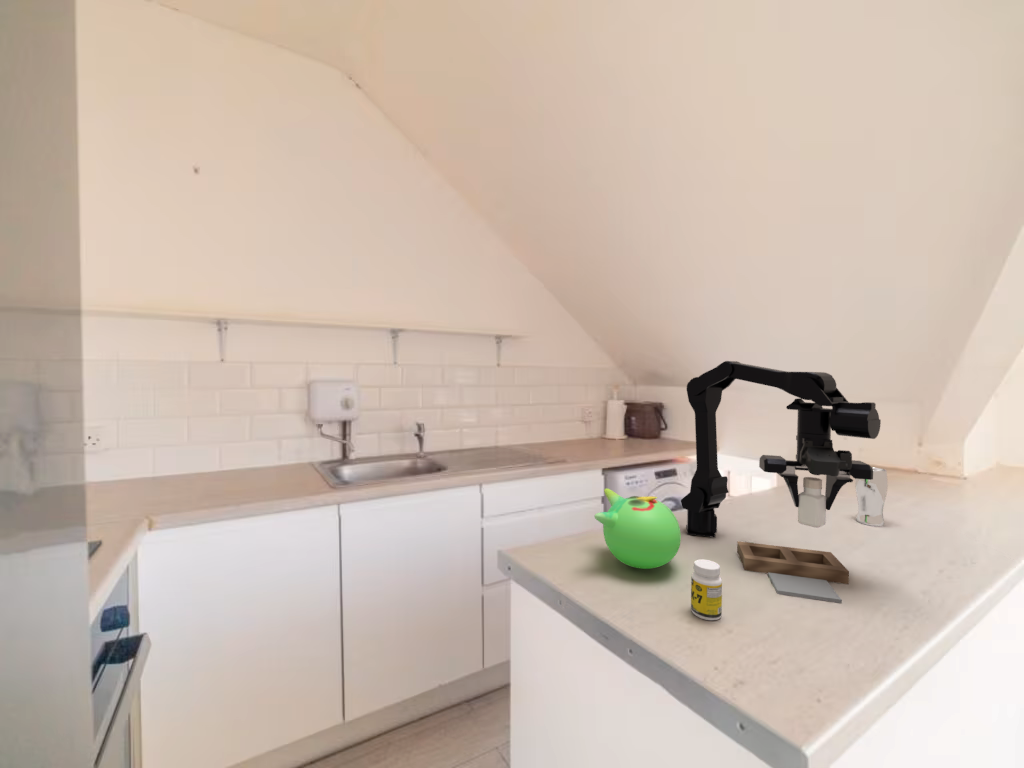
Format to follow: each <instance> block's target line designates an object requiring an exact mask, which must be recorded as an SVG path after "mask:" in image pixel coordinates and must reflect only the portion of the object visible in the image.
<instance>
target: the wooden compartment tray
mask: <svg viewBox="0 0 1024 768" xmlns="http://www.w3.org/2000/svg"><path fill="white" fill-rule="evenodd" d="M736 543H737V549H736V553H737V555H738V557H739V561H740V562H741V565H742V567H743V570H744V571H747V572H748V571H749V572H756V573H761V574H762V573H763V574H768V572H769V573H777V574H784V575H791V576H799V577H806V578H813V579H821V580H827V582H828V583H837V584H843V585H849V584H850V571H849V570H848V568H847V567H846V566H845V565H844V564H843V563H842V562H841V561H840V560H839V559H838V558H837V557H836V556H835V555H834V554H833V553H832V552H831V551H823V550H814V549H805V548H797V547H791V546H790V547H789V546H788V547H787V546H780V545H773V544H763V543H756V542H755V543H754V542H746V541H739V540H738V541H737V542H736Z"/></svg>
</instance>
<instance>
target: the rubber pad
mask: <svg viewBox="0 0 1024 768" xmlns="http://www.w3.org/2000/svg"><path fill="white" fill-rule="evenodd" d="M767 577H768V578H769V581H770V582H771V584H772V586H773V588H774V590H775V592H776V593H777V595H778V594H779V595H783V596H789V597H790V596H791V597H797V598H804V599H811V600H819V601H825V602H830V603H831V602H832V603H839V604H842V603H843V599H842V598H841V596H839V594H838V593H837V592H836V591H835V589H834V588H833V587H832V586H831V584H830V582H828V581H827V580H821V579H813V578H806V577H799V576H791V575H784V574H777V573H769V572H768V573H767Z"/></svg>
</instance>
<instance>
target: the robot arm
mask: <svg viewBox="0 0 1024 768" xmlns="http://www.w3.org/2000/svg"><path fill="white" fill-rule="evenodd" d="M735 380H740V381H745V382H750V383H755V384H759V385H762V386H768V387H773V388H776V389H779V390H782V391H783V392H786V393H787V394H789V395H792V396H793V397H796V398H795V399H794V400H793V401H792V402H791V403H789V404H788V405H786V409H787V410H791V411H792V410H793V411H797V422H796V423H797V425H796V426H797V428H796V430H797V431H796V435H795V436H796V438H795V440H796V454H795V460H787V459H785V458H784V457H783V456H781V455H772V454H771V455H769V454H762V455H761V456H760V457H759V462H758V463H759V464H758V465H759V466H758V467H759V468H760V469H761V471H763V472H765V473H770V474H771V473H773V474H778V476H780V477H781V478H783V480H784V481H785V483H786V486H787V488H788V491H789V493H790V496H791V499H792V502H793V504H794V506H795V508H798V506H799V496H798V495H799V486H798V484H799V483H798V481H799V476H798V475H797V474H796V471H808V472H809V473H810V474H811V475H814V476H821V475H822V476H823V475H824V476H825V477H826V478H825V490H824V491H825V493H824V496H826V511H830V510H831V508H832V506H833V504H834V502H835V500H836V499H837V498H836V497H837V495H838V494H839V492H840V490H841V489H842V488H843V487H844V486H845V485H846V484H847V483H853V481H854V480H855V479H868V480H872V479H873V469H872V467H873V466H871V465H870V464H868V463H866V462H864V461H861V460H853V453H852V451H850V450H841V449H839V450H834V447H833V445H834V444H833V439H831V437H832V436H831V432H833V431H834V432H835V433H836V435H837V436H842V437H851V438H862V439H872V440H875V439H876V438H877V437H878V435H879V433H880V430H881V425H882V424H881V419H880V416H879V411H878V410H877V409H876V403H875V402H870V401H869V402H865V401H864V402H850V401H848V399H847V398H846V397H845V396H844V395H843V393H842V392H841V391H840V390H839V389H838V388H837V383H836V382H837V381H836V379H835V378H834V377H833V375H832V374H830V373H827V372H824V371H823V372H822V371H786V370H780V369H775V368H768V367H765V366H764V367H763V366H758V365H752V364H746V363H742V362H739V361H736V360H735V361H734V360H730V361H729V360H725V361H723V362H722V363H720V364H718V365H717V366H715V367H713V368H711V369H710V370H708V371H706V372H704V373H702V374H701V375H699V376H695V377H693V378H691V379H690V380H689V382H687V384H686V393H687V394H686V395H687V400H688V403H689V405H690V406H691V409H692V410H693V411H694V424H695V425H694V426H695V429H694V430H695V456H696V457H695V458H696V460H695V461H696V469H695V472H694V474H693V476H692V477H691V478H692V479H691V482H690V490H689V492H688V493H687V494H686V495H685V496H683V497H682V498H681V499H680V502H681V503H680V504H681V507H682V509H683V510H687V511H686V514H687V515H686V525H685V526H686V527H685V528H686V533H687V535H690V536H691V535H692V536H699V537H709V538H716V534H717V532H718V530H717V529H718V516H717V514H716V512H715V509H719V508H720V505H721V504H722V502H723V501H724V500H726V497H727V494H728V493H729V492H730V491H729V489H728V480H729V479H728V477H727V476H724V475H723V476H722V474H721V473H720V470H719V467H718V463H719V462H718V441H717V439H718V437H717V415H716V414H717V411H718V408H719V406H720V404H721V401H722V395H723V391H724V390H726V389H728V388H729V387H730V386H731V385H732V384H733V383H734V381H735ZM804 400H805V401H806V402H805V401H804ZM807 401H808V402H807ZM809 401H812V402H809ZM825 407H831V408H825ZM852 478H853V479H852Z"/></svg>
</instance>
